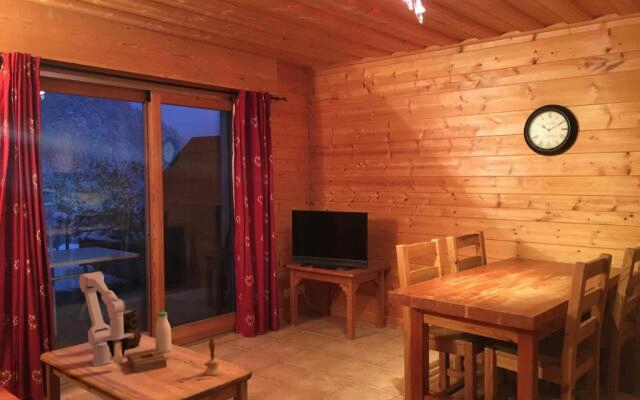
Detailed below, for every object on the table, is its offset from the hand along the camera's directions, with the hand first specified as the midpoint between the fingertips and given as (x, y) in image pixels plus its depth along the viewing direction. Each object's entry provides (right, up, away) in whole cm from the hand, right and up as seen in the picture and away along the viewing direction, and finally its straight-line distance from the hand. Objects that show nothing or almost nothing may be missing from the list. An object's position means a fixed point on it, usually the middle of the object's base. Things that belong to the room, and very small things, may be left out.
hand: (117, 355), depth 243 cm
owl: (-9, -6, +34) cm, 35 cm away
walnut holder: (+11, -6, +7) cm, 15 cm away
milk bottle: (+14, -6, +26) cm, 30 cm away
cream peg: (0, -3, 0) cm, 3 cm away
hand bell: (+45, -7, -5) cm, 46 cm away
